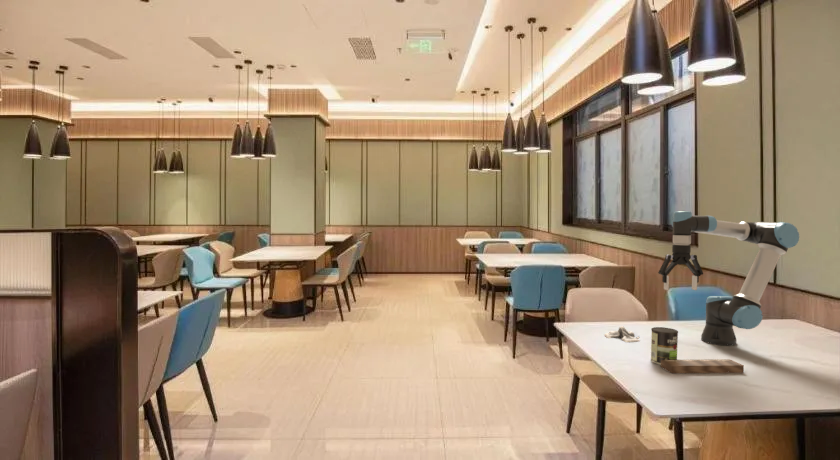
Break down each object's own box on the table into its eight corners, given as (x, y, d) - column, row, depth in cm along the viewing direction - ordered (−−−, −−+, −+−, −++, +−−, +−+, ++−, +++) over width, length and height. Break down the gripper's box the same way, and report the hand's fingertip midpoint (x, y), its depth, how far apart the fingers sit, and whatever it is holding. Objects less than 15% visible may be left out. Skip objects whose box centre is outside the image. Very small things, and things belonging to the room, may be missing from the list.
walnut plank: (729, 366, 203) (729, 359, 203) (743, 372, 195) (743, 365, 195) (660, 366, 201) (660, 359, 201) (671, 373, 193) (671, 365, 193)
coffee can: (682, 363, 206) (683, 331, 205) (666, 367, 201) (667, 333, 201) (660, 357, 215) (661, 326, 214) (645, 360, 210) (646, 328, 210)
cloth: (637, 345, 236) (637, 332, 236) (598, 339, 248) (599, 327, 248) (648, 336, 254) (648, 324, 254) (611, 330, 265) (612, 319, 265)
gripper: (702, 244, 228) (700, 288, 229) (651, 243, 227) (650, 288, 228) (712, 245, 221) (711, 291, 222) (660, 244, 220) (658, 291, 220)
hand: (680, 289), depth 225 cm, fingers open, 13 cm apart
